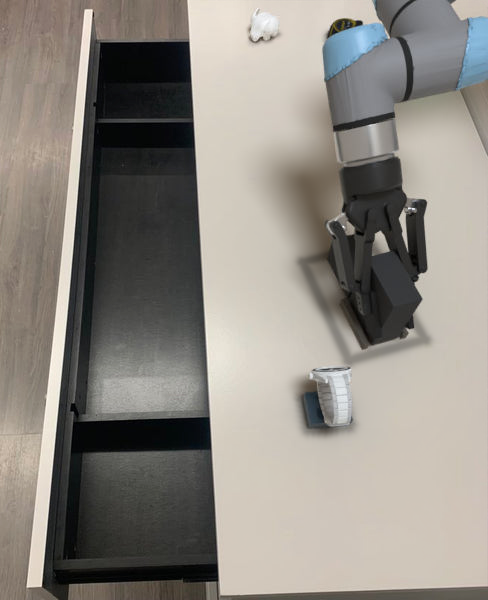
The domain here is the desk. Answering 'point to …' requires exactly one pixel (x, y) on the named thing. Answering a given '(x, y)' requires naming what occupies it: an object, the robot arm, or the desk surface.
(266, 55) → the desk surface
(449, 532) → the desk surface
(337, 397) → the watch
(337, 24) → the tape measure
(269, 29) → the elephant figurine
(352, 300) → the block
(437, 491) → the desk surface
